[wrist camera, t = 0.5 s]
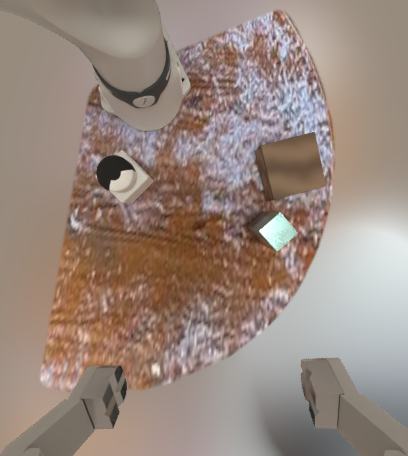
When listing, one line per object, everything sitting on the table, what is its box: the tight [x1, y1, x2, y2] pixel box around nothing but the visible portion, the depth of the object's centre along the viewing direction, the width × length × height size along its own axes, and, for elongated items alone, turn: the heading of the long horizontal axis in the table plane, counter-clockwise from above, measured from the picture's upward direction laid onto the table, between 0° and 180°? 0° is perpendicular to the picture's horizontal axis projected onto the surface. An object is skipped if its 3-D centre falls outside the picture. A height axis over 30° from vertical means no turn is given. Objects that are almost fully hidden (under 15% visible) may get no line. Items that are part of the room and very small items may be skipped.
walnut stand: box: [255, 132, 326, 201], centre depth 51 cm, size 11×11×5 cm
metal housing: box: [246, 212, 298, 251], centre depth 49 cm, size 5×5×11 cm
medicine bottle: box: [96, 150, 154, 204], centre depth 47 cm, size 7×7×12 cm
